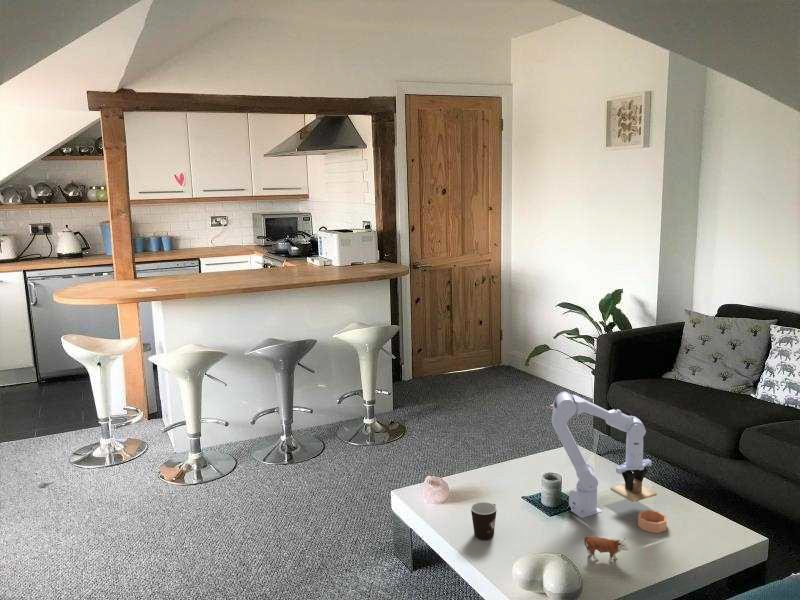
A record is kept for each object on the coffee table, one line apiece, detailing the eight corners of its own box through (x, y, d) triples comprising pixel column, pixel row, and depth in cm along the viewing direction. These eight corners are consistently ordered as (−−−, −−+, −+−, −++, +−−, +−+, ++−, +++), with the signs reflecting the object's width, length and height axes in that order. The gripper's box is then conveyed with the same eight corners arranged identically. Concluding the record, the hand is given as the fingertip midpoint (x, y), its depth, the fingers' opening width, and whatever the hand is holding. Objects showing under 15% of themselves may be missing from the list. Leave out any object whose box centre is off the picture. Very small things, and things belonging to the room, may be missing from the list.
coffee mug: (480, 544, 222) (480, 516, 220) (466, 533, 230) (465, 506, 228) (509, 535, 227) (509, 507, 226) (494, 524, 235) (494, 497, 233)
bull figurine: (628, 567, 207) (628, 543, 205) (583, 559, 212) (583, 535, 211) (629, 560, 211) (630, 536, 209) (585, 552, 216) (585, 528, 215)
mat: (629, 522, 233) (629, 521, 233) (603, 506, 245) (603, 505, 245) (657, 513, 238) (657, 512, 238) (631, 498, 250) (631, 497, 250)
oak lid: (632, 502, 232) (632, 489, 231) (610, 489, 242) (610, 477, 241) (656, 495, 236) (657, 482, 236) (633, 483, 246) (634, 471, 246)
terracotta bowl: (651, 536, 224) (652, 525, 223) (632, 524, 232) (632, 513, 231) (672, 530, 227) (672, 519, 227) (652, 518, 235) (652, 508, 235)
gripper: (626, 460, 230) (625, 497, 232) (658, 452, 236) (657, 488, 238) (612, 453, 236) (611, 489, 239) (643, 445, 242) (642, 480, 245)
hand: (633, 488), depth 239 cm, fingers closed on oak lid, 3 cm apart
